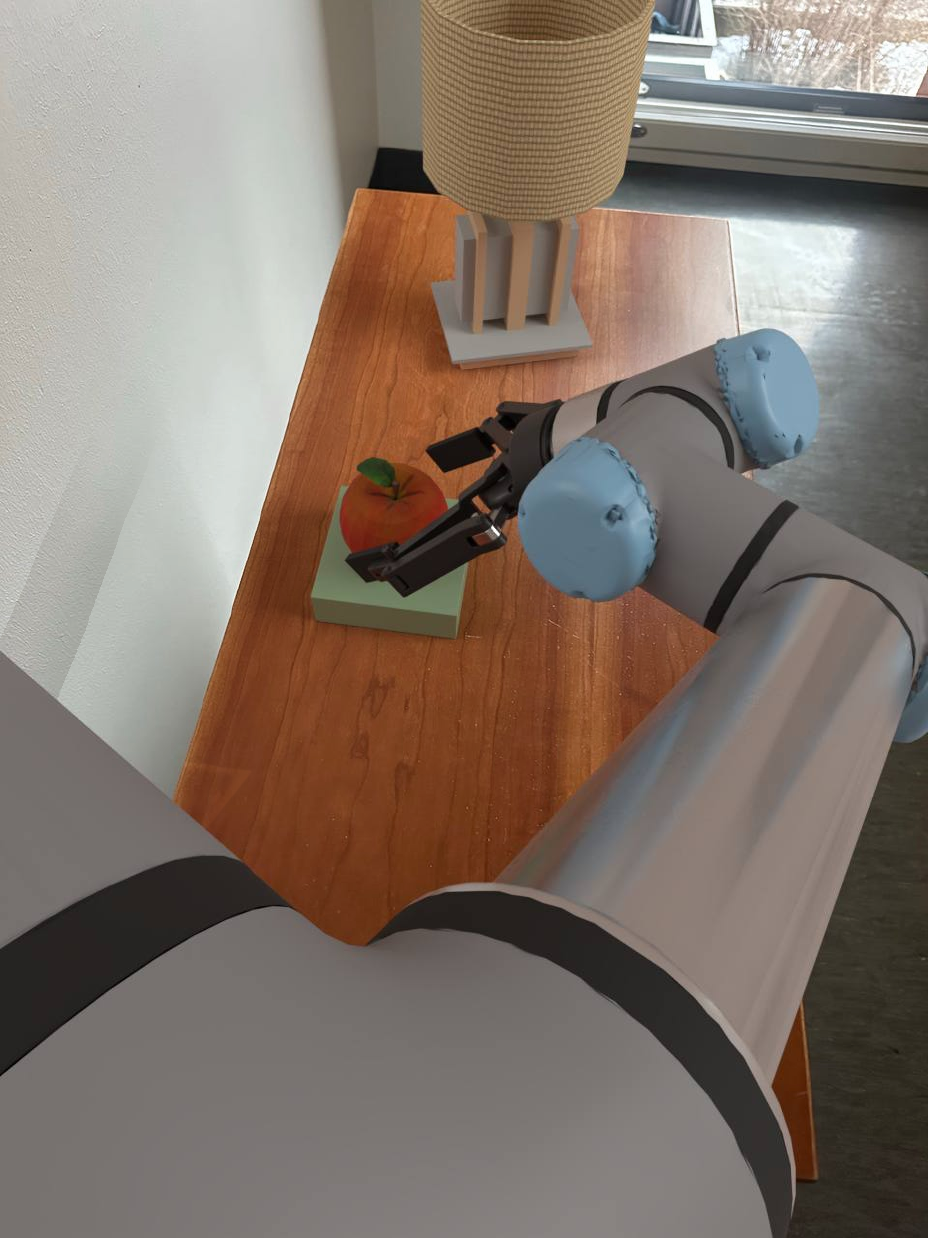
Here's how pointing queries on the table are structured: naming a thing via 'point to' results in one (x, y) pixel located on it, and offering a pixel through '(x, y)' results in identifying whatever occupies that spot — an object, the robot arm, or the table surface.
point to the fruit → (388, 504)
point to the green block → (383, 594)
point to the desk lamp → (524, 158)
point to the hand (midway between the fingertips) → (398, 511)
